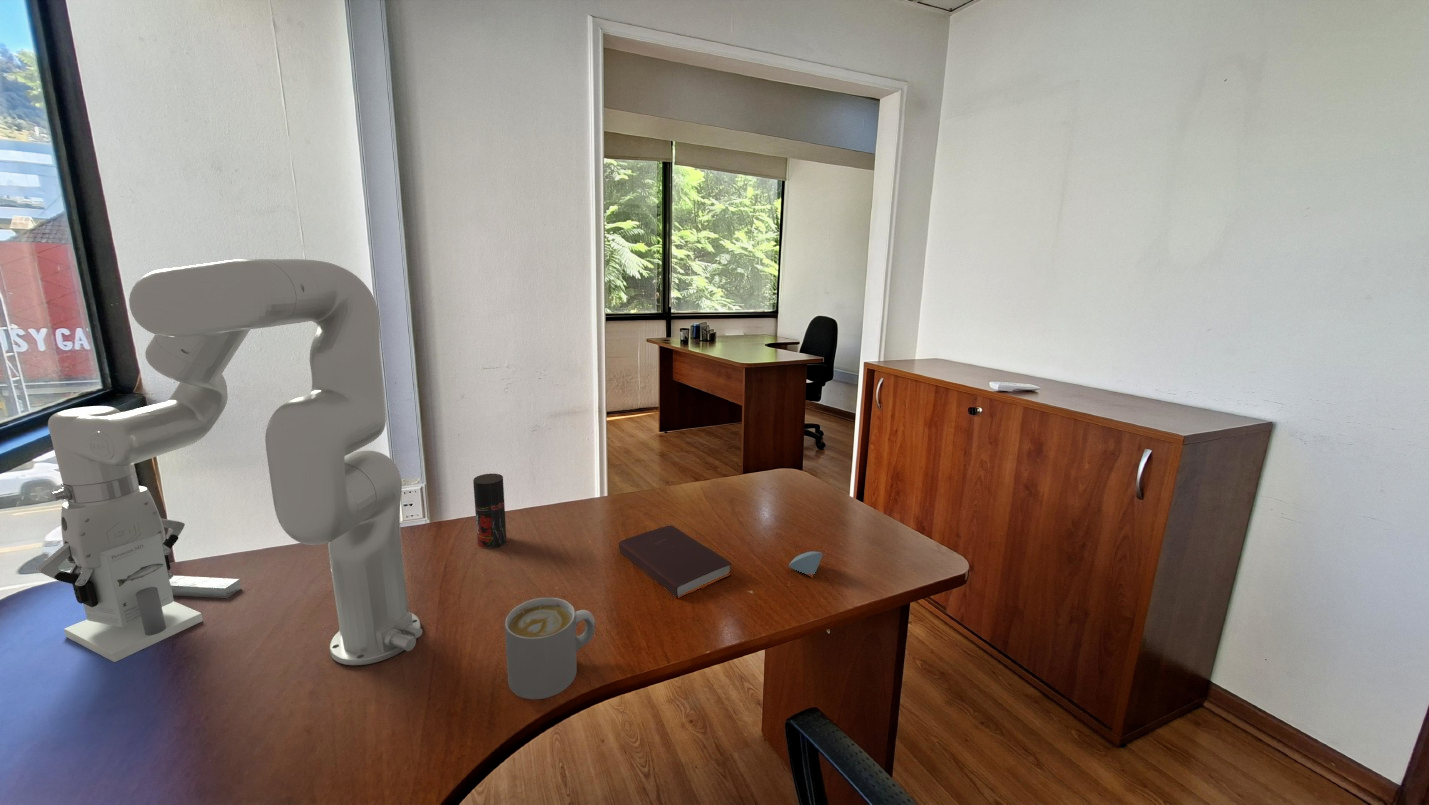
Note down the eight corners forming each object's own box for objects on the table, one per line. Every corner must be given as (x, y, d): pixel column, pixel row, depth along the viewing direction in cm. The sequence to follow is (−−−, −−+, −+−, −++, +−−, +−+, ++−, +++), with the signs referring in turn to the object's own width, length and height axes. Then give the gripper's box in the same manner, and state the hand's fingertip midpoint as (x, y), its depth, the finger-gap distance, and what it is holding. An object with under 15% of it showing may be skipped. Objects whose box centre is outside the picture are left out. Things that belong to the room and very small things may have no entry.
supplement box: (122, 628, 86) (104, 554, 83) (85, 621, 87) (66, 548, 84) (176, 601, 93) (161, 532, 90) (141, 595, 94) (125, 526, 91)
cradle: (203, 621, 93) (194, 575, 91) (115, 662, 83) (102, 612, 81) (154, 599, 98) (144, 556, 96) (65, 636, 88) (52, 588, 86)
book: (675, 601, 104) (676, 584, 103) (618, 554, 121) (618, 538, 120) (732, 578, 113) (733, 562, 112) (671, 537, 129) (671, 522, 128)
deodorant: (512, 541, 124) (508, 477, 120) (489, 551, 119) (484, 486, 115) (495, 533, 127) (491, 471, 123) (471, 543, 122) (467, 479, 118)
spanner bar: (244, 586, 103) (242, 577, 103) (223, 600, 99) (221, 590, 98) (159, 582, 103) (156, 572, 103) (134, 595, 99) (132, 585, 99)
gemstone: (836, 568, 111) (826, 544, 114) (802, 578, 109) (792, 554, 111) (823, 578, 118) (814, 555, 120) (790, 588, 115) (782, 565, 118)
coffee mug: (513, 708, 78) (510, 646, 75) (503, 663, 86) (500, 606, 84) (606, 679, 84) (606, 621, 81) (589, 640, 92) (588, 586, 90)
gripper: (30, 514, 76) (61, 627, 80) (187, 473, 91) (206, 569, 95) (4, 504, 78) (35, 613, 82) (161, 465, 94) (181, 559, 98)
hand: (127, 589), depth 89 cm, fingers closed on supplement box, 8 cm apart
